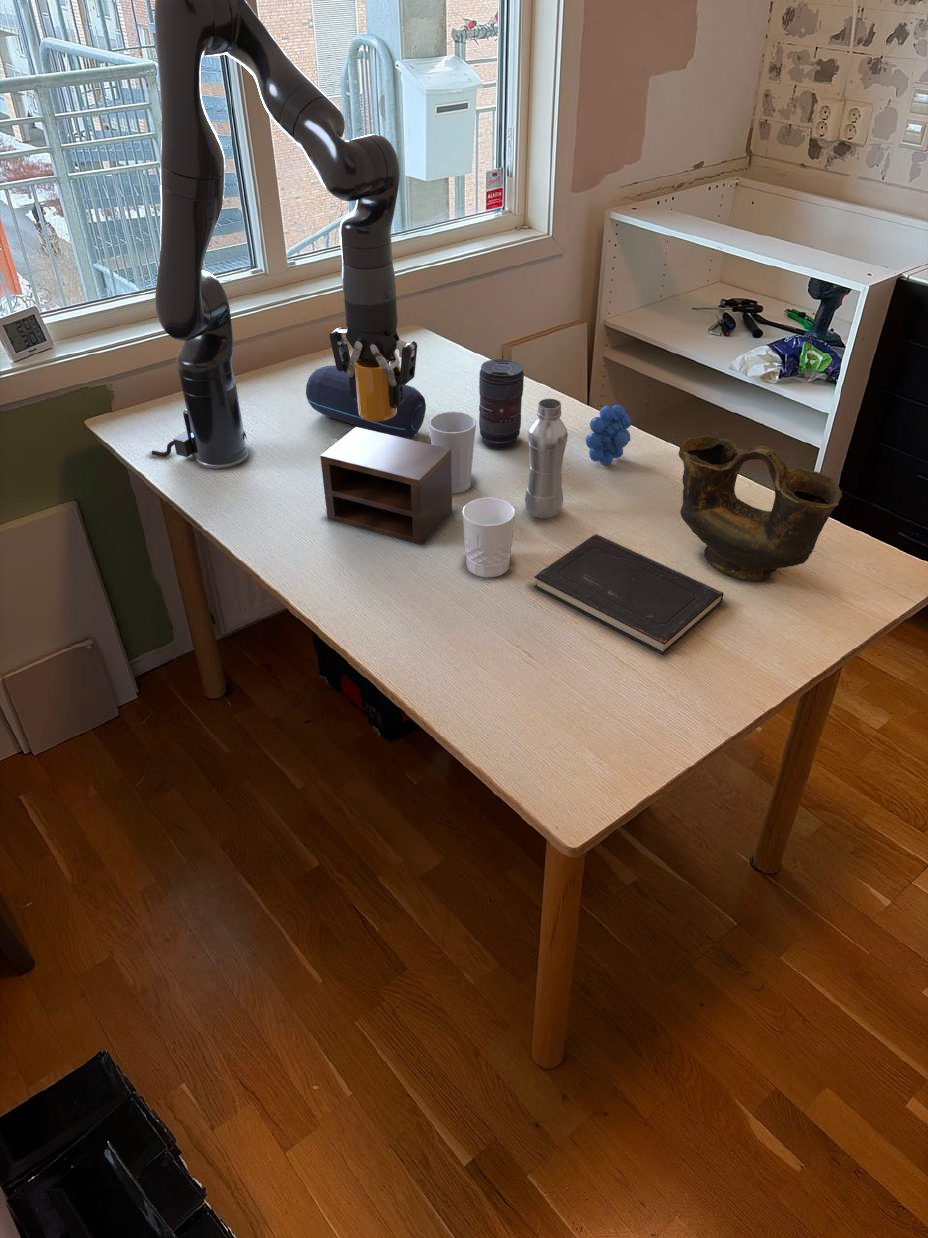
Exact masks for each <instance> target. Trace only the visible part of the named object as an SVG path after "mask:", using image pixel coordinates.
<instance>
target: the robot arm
mask: <svg viewBox="0 0 928 1238" xmlns="http://www.w3.org/2000/svg"><path fill="white" fill-rule="evenodd" d="M154 32H155V44H156V54H157V65H158V76H159V78H158V79H159V87H160V88H159V91H160V123H161V124H160V125H161V127H160V128H161V129H160V131H161V134H160V135H161V144H160V146H161V147H160V243H159V245H160V246H159V261H158V268H157V276H156V277H157V278H156V283H155V284H156V285H155V297H154V305H155V312H156V316H157V319H158V321H159V324H160V326H161V328H162V329H163V330H164V332H166V334H167V335H168V336H170V338H172V339H174V340H177V341H181V342H183V344H182V346H181V348H180V349H179V351H178V353H177V355H176V365H177V370H178V375H179V376H178V377H179V380H180V385H181V390H182V395H183V399H184V403H185V408H186V409H184V410H183V412H182V414H183V421H184V425H185V431H184V432H182V433H180V434H179V435H177V436H175V437H174V438H173V439H172V440H171V441H170V442H168V443H167V445H166V450H165V451H163V452H162V451H158V450H151V455H152V456H157V457H168V456H170V454H171V453H172V447H174V449H175V453H176V455H177V456H180V457H185V458H190V456H191V458H192V460H195V461H196V462H197V464H198V465H199V466H201V467H204V468H207V469H213V470H221V469H229V468H232V467H235V466H237V465H240V464H241V463H243V462H244V461H246V459H247V458H248V456H249V451H248V447H247V443H246V441H247V440H248V438H247V433H246V432H245V430H244V425H243V424H244V423H243V419H242V412H241V406H240V401H239V395H238V389H237V383H236V378H235V372H234V366H233V365H234V364H233V354H234V348H235V341H234V334H233V323H232V316H231V315H232V314H231V309H230V303H229V299H228V296H227V293H226V291H225V288H224V287H223V285H222V283H221V282H220V280H219V279H217V277H216V276H215V275H213V273H212V274H211V272H209V271H205V270H203V266H204V260H205V257H206V253H207V250H208V247H209V245H210V242H211V240H212V237H213V234H214V232H215V229H216V227H217V224H218V221H219V220H220V216H221V212H222V209H223V204H224V198H225V197H224V196H225V178H226V159H225V154H224V150H223V146H222V144H221V142H220V139H219V138H218V135H217V132H216V130H215V129H214V127H213V125H212V123H211V121H210V119H209V117H208V114H207V112H206V110H205V107H204V103H203V99H202V92H201V91H202V90H201V89H202V88H201V67H202V66H201V65H202V59H203V57H212V56H213V57H214V56H215V57H217V56H222V55H226V56H228V57H230V58H231V59H233V60H234V61H236V62H237V63H239V64H240V65H241V66H243V68H245V69H246V70H247V71H248V72H249V73H250V74H251V75H252V76H253V78H254V80H255V83H256V85H257V89H258V93H259V96H260V100H261V101H262V104H263V106H264V108H265V110H266V112H267V113H268V115H269V116H270V118H271V119H272V120H273V121H274V123H275V124H276V125H277V126H278V127H279V128H280V129H281V130H282V131H283V132H284V133H285V134H286V135H287V136H288V137H289V138H290V139H291V140H292V141H293V142H294V143H295V144H296V145H297V146H298V147H299V148H301V149H302V151H303V152H304V155H305V157H306V158H307V160H308V162H309V163H310V165H311V166H312V167H311V168H313V170H314V173H316V175H317V178H319V181H320V182H321V184H322V185H323V187H324V188H325V189H326V190H327V192H329V193H330V195H332V196H334V197H335V198H337V199H339V200H342V201H344V202H356V204H355V207H354V209H353V210H352V211H351V212H350V213H349V214H348V215H346V216H345V217H344V218H343V219H342V220H341V222H340V225H339V240H340V241H339V242H340V251H341V253H340V254H341V265H342V266H341V285H342V286H341V287H342V295H343V296H342V297H343V308H344V320H345V325H346V327H347V328H346V329H344V328H343V327H341V326H340V327H338V328H336V329H334V330H333V331H332V332H330V333H329V336H328V337H329V341H330V346H331V350H332V355H333V359H334V364H335V365H336V368H337V370H338V371H344V372H345V373H347V375H348V376H349V383H350V393H351V395H352V396H353V399H354V400H357V391H356V379H355V367H354V362H357V363H358V364H359V365H360V364H361V363H362V362H372V363H374V364H378V365H379V366H380V367H382V368H383V372H384V373H386V374H387V379H388V381H389V383H390V385H389V396H390V407H391V408H397V407H398V406H399V405H400V404H401V403H402V402H403V399H404V397H403V385H408V383H409V382H410V381H412V380H413V379H414V378H415V376H416V375H415V373H416V365H417V364H416V363H417V354H418V353H417V352H418V344H417V342H416V341H415V340H411V341H410V342H408V341H404V340H401V339H400V337H399V335H398V332H397V328H398V310H397V309H398V307H397V287H396V274H395V268H394V262H393V247H392V246H393V245H392V225H393V221H394V218H395V217H394V216H395V211H396V205H397V200H398V199H397V198H398V193H399V186H400V178H401V177H400V176H401V169H400V163H399V158H398V155H397V152H396V150H395V148H394V146H393V144H392V143H391V142H390V140H388V138H386V137H385V136H383V135H381V134H377V133H375V134H367V135H362V136H360V137H356V138H351V139H348V140H347V139H346V140H345V139H343V136H344V133H345V129H346V122H345V117H344V115H343V113H342V112H341V110H340V108H339V107H338V106H337V105H336V104H335V103H334V102H333V101H332V100H331V99H330V98H329V97H328V96H327V95H326V94H325V93H324V92H322V91H321V89H319V88H318V86H316V85H315V84H314V83H313V82H312V81H311V80H310V79H309V78H308V77H307V75H305V74H304V73H303V72H302V71H301V70H300V69H299V68H298V67H297V66H296V65H295V64H294V62H292V61H291V59H290V58H289V56H287V54H286V53H285V52H284V50H283V49H282V48H281V46H280V45H279V43H278V42H277V41H276V39H275V38H274V37H273V35H272V34H271V32H269V30H268V29H267V27H265V25H264V23H263V22H262V21H261V20H260V19H259V17H258V16H257V14H256V12H255V11H254V10H253V9H252V8H251V6H250V4H249V3H248V2H247V1H246V0H154ZM348 343H349V344H348ZM349 345H350V346H351V348H352V349H353V350H352V353H351V354H350V349H349ZM396 350H398V355H397V353H396ZM398 356H399V357H398ZM399 358H401V359H399ZM388 360H390V362H391V360H392V361H393V362H392V363H391V364H388V363H387V361H388ZM390 362H389V363H390ZM393 368H394V372H393Z"/></svg>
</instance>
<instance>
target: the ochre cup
mask: <svg viewBox="0 0 928 1238" xmlns="http://www.w3.org/2000/svg"><path fill="white" fill-rule="evenodd" d="M389 362H390V360H388V361H387V363H388V364H391V363H392V362H393V361H392V360H391V362H390V363H389ZM354 367H355V379H356V391H357V403H358V411H359V416H360V417H361V418H363V419H365V420H368V421H384V420H388V419H391V418H393V417H394V416H395V415H396V413H397V408H391V407H390V396H389V385H390V383H389V381H388V379H387V374H386V373H384V372H383V368H382V367H380V366H379V365H378V364H374V363H372V362H362V363H361V364H360V365H359V364H358V363H357V362H354ZM393 372H394V368H393Z"/></svg>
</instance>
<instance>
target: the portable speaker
mask: <svg viewBox="0 0 928 1238" xmlns="http://www.w3.org/2000/svg"><path fill="white" fill-rule="evenodd" d="M305 397H306V400H307V402H308V404H309V405H310V407H311V408H312V409H314V410H315V411H316V412H317V413H320V414H321V415H323V416H325V417H328V418H331V419H335V420H338V421H341V422H345V423H348V424H351V425H354V426H356V427H359V428H363V429H367V430H371V431H376V432H380V433H384V434H389V435H393V436H397V437H401V438H406V439H412V438H414V437H415V436H417V434H418V432H419V430H420V429H421V428H422V425H423V422H424V420H425V416H426V410H427V408H426V407H427V403H426V399H425V396H424V395H423V394H422V393H421V392H420V391H419V390H418V389H417V388H416V387H414V386H411V385H408V384H405V385H403V397H404V399H403V402H402V403H401V404H400V405H399V406H398V407H397V413H396V415H395V416H394V417H393V418H391V419H388V420H384V421H368V420H365V419H363V418H361V417H360V416H359V411H358V403H357V400H354V399H353V396H352V395H351V393H350V383H349V376H348V375H347V373H345V372H344V371H338V370H337V368H336V364H335V365H333V364H332V365H325V366H322V367H319V368H316V369H315V370H314V371H313V372H312V373H311V374H310V376H309V377H308V380H307V382H306V386H305Z"/></svg>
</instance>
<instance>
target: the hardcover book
mask: <svg viewBox="0 0 928 1238" xmlns="http://www.w3.org/2000/svg"><path fill="white" fill-rule="evenodd" d="M533 578H534V579H536V584H535V585H533V589H535V590H537V591H539V592H541V593H543V594H544V595H547V596H549V597H551V598H552V599H554V600H556V601H559V602H560V603H562V604H564V605H565V606H568V607H570V608H572V609H573V610H575V611H577V612H578V613H580V614H583V615H585V616H586V617H589V618H590V619H592V620H595V621H596V622H598V623H600V624H602V625H604V626H606V627H608V628H610V629H611V630H613V631H615V632H618V633H619V634H621V635H623V636H625V637H627V638H629V639H630V640H632V641H635V642H636V643H638V644H640V645H642V646H644V647H646V648H648V649H650V650H652V651H654V652H656V653H657V654H660V655H661V656H663V655H664V654H666V653H667V652H668V651H669V650H670V649H671V648H672V647H674V646H675V645H677V643H678V642H679V641H680V640H682V639H684V637H685V636H687V634H688V633H690V632H691V631H692V630H693V629H694V628H695V627H696V626H697V625H699V624H700V623H701V622H702V621H703V620H705V619H706V618H707V617H708V616H709V615H710V614H711V613H713V612H714V611H715V610H716V609H717V608H718V607H719V606H720V605H721V604H722V602H723V601H724V600H723V599H724V596H725V595H724V592H722V591H721V590H718V589H716V588H715V587H712V586H710V585H708V584H705V583H703V582H701V581H699V580H697V579H694V578H693V577H691V576H688V575H687V574H684V573H682V572H680V571H677V570H675V569H673V568H671V567H669V566H666V565H664V564H662V563H661V562H658V561H656V560H654V559H651V558H649V557H647V556H646V555H645V556H644V555H643V554H641V553H639V552H636V551H634V550H632V549H630V548H628V547H626V546H624V545H621V544H619V543H618V542H617V543H616V542H615V541H612V540H610V539H608V538H607V537H604V536H601V535H600V534H598V533H594V534H593V535H591V536H590V537H589V538H587V539H585V540H584V541H582V542H581V543H580V544H579V545H577V546H576V547H574V548H572V549H571V550H570V551H568V552H567V553H566V554H564V555H563V556H561V557H559V559H557V560H555V561H554V562H553V563H551V564H549V565H548V566H547V567H545V568H544V569H542V570H541V571H539V572H538V573H537V574H534V576H533Z"/></svg>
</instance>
